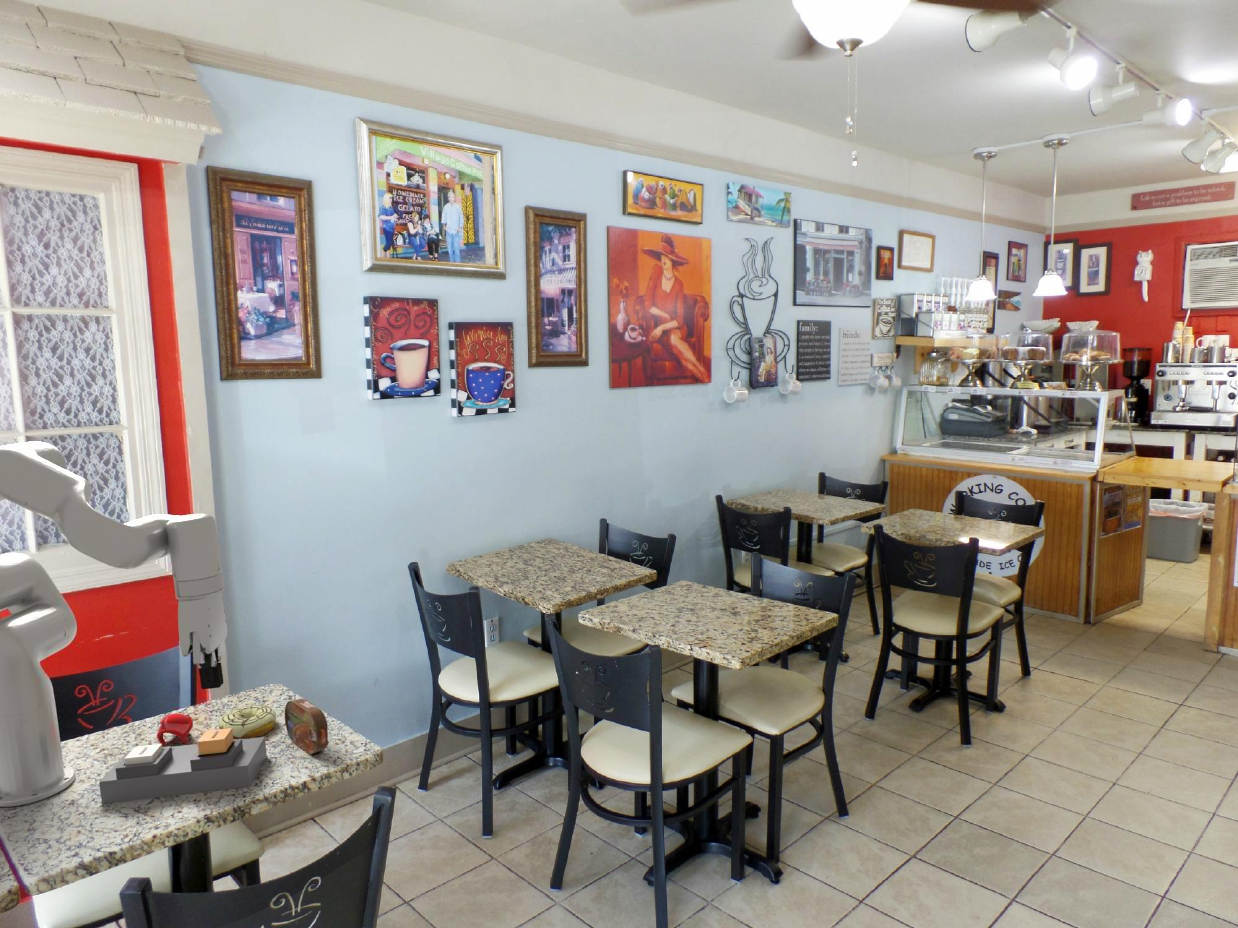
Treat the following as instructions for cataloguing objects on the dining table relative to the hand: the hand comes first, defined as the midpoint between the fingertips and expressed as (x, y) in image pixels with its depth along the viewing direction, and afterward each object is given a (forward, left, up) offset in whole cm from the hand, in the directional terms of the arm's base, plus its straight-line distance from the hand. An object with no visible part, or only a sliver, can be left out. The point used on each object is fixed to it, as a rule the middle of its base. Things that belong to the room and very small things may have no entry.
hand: (212, 686), depth 141 cm
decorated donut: (-1, +21, -18) cm, 28 cm away
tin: (+12, +11, -18) cm, 24 cm away
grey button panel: (-7, +2, -18) cm, 19 cm away
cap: (-15, +19, -18) cm, 30 cm away
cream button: (-13, 0, -13) cm, 18 cm away
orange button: (0, 0, -11) cm, 11 cm away
